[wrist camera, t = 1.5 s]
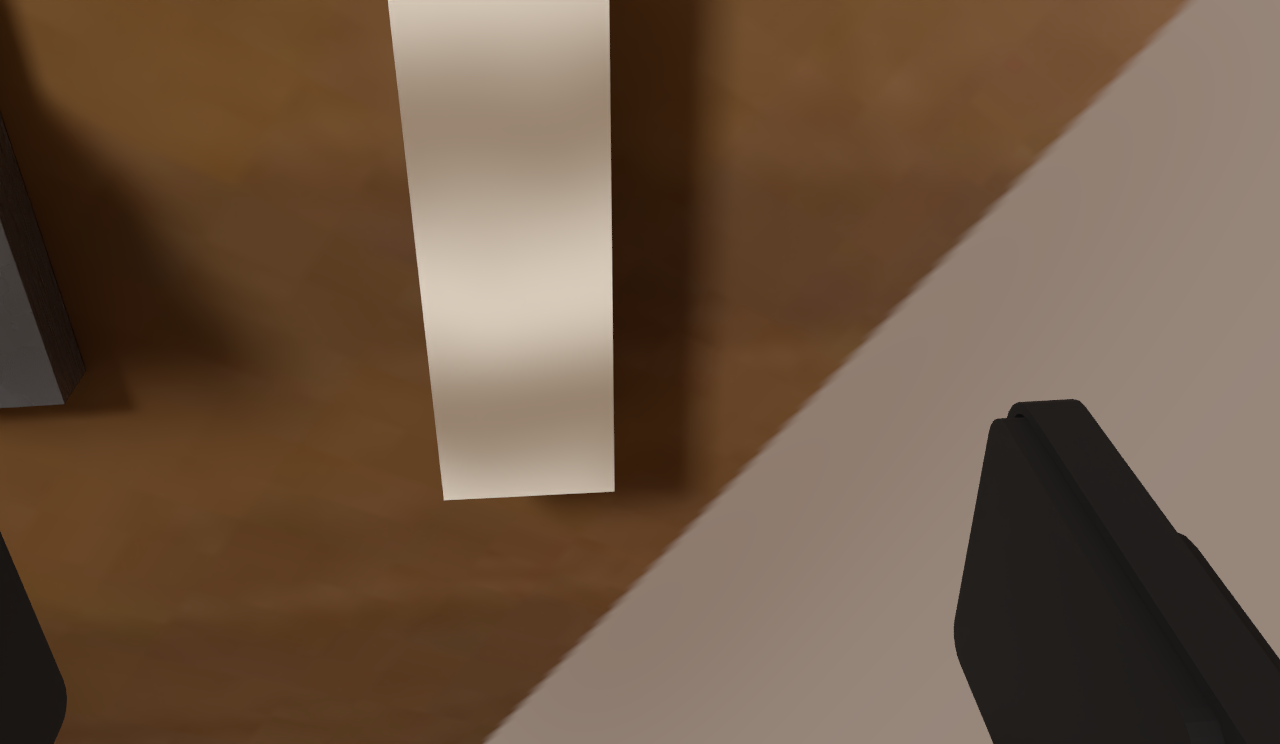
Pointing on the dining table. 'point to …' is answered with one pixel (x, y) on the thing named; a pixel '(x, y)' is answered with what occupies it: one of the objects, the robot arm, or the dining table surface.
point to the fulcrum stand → (30, 304)
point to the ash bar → (512, 237)
